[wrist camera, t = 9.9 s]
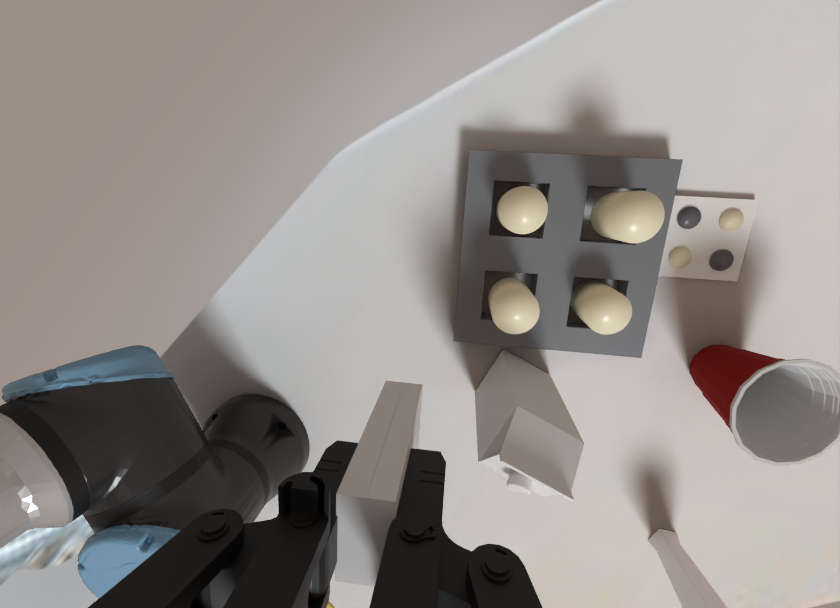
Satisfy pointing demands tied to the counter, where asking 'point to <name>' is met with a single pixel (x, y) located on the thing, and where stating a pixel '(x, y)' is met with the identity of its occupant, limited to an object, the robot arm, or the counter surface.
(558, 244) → the board
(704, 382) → the plastic cup
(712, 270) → the card
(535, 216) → the cream rounded cylinder
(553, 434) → the milk carton
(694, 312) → the counter surface
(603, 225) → the cream domed cylinder
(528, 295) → the cream rounded cylinder
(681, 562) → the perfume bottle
